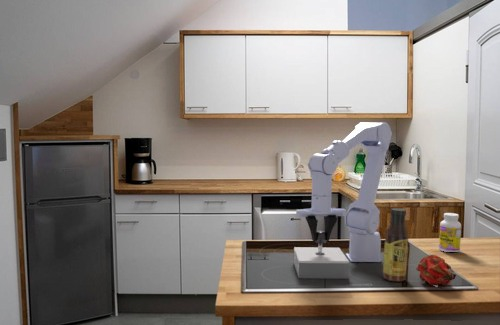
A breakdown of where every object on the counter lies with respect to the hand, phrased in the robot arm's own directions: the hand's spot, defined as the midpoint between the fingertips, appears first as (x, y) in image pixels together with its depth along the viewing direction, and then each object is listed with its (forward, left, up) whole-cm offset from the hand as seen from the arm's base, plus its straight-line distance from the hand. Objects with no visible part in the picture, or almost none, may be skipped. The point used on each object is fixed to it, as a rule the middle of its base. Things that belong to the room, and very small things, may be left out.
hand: (320, 240), depth 138 cm
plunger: (0, 0, -5) cm, 5 cm away
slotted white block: (0, 0, -9) cm, 9 cm away
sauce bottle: (-20, +7, -9) cm, 23 cm away
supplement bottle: (-48, -22, -9) cm, 54 cm away
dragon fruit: (-30, +11, -9) cm, 33 cm away
